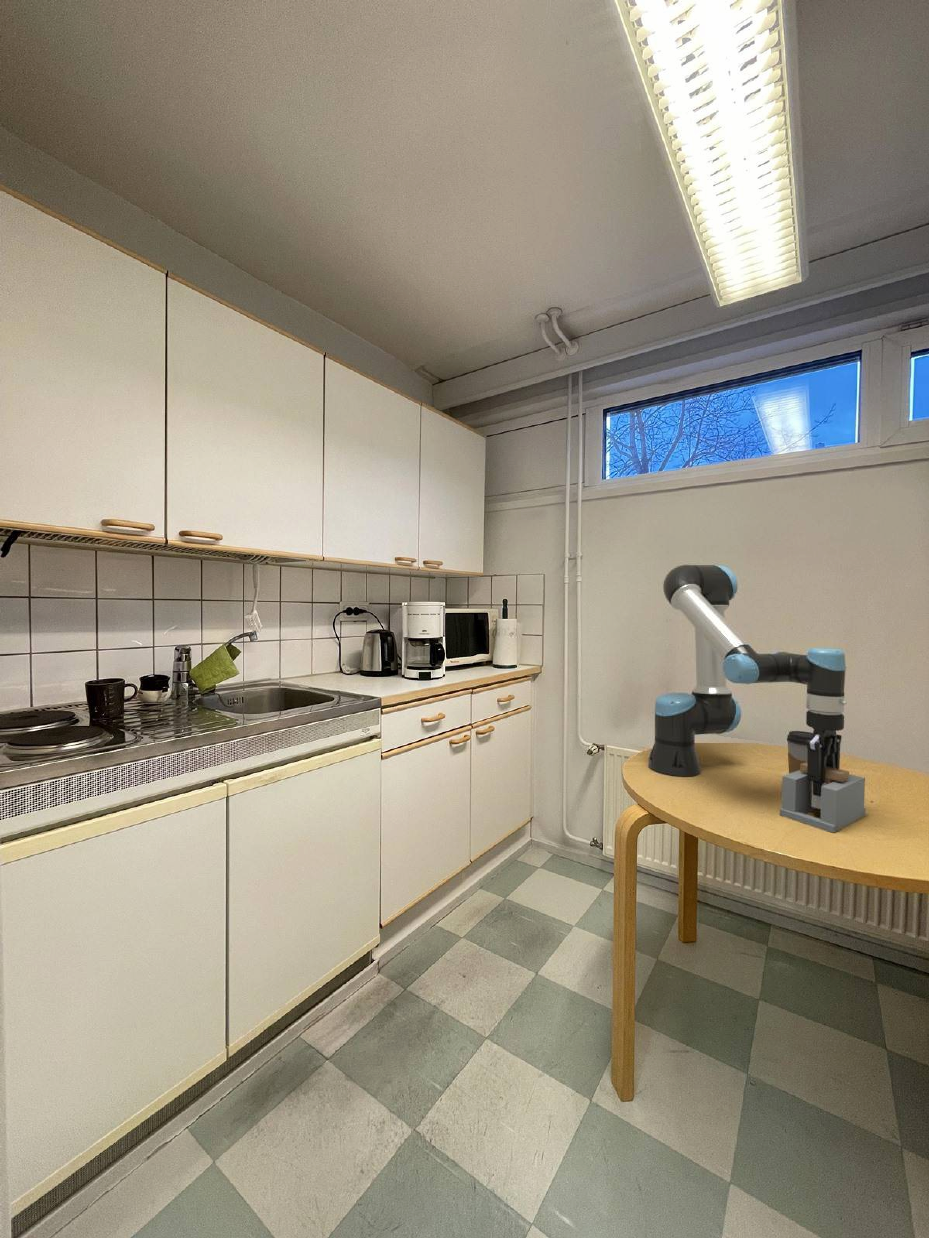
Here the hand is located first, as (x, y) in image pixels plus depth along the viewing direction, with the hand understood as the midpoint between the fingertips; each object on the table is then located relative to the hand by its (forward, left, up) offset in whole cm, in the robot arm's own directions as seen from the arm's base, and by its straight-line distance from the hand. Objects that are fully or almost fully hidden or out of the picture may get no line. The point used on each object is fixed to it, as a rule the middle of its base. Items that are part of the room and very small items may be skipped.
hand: (822, 805), depth 122 cm
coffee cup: (-12, +18, -3) cm, 22 cm away
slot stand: (0, 0, -2) cm, 2 cm away
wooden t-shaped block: (0, 0, 0) cm, 0 cm away
